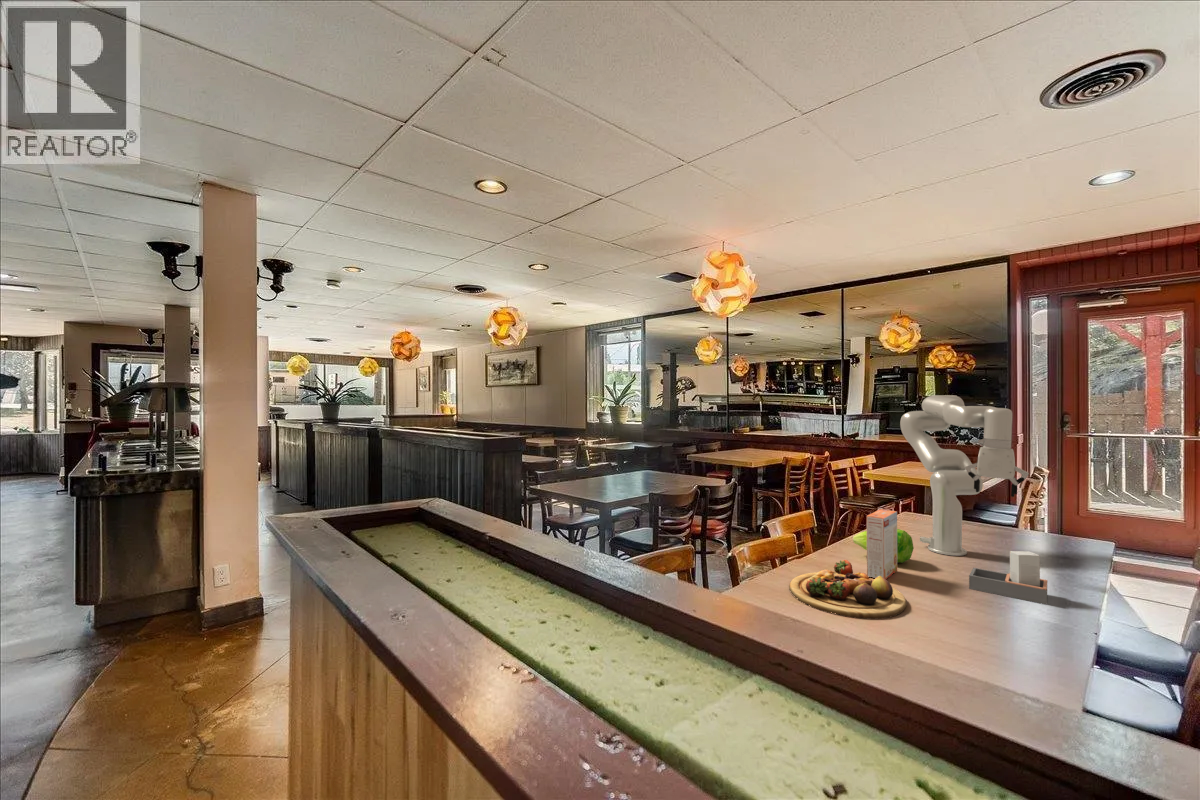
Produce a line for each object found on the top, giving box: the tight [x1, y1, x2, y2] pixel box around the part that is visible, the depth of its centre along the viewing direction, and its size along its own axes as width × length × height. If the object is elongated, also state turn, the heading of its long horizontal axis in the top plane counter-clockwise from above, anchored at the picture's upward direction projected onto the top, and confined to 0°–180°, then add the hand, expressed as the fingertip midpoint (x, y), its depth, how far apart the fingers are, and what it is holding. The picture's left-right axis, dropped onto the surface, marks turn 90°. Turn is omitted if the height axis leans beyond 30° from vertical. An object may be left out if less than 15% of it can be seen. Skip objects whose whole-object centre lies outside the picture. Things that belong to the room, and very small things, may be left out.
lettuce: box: [852, 528, 915, 564], centre depth 191 cm, size 14×20×12 cm
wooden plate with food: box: [788, 559, 907, 620], centre depth 156 cm, size 32×32×8 cm
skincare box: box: [1009, 550, 1041, 587], centre depth 157 cm, size 6×4×12 cm
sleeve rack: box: [968, 567, 1048, 605], centre depth 160 cm, size 18×10×4 cm, turn 48°
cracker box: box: [865, 508, 898, 580], centre depth 175 cm, size 14×6×21 cm, turn 135°
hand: (994, 493), depth 177 cm, fingers open, 9 cm apart
